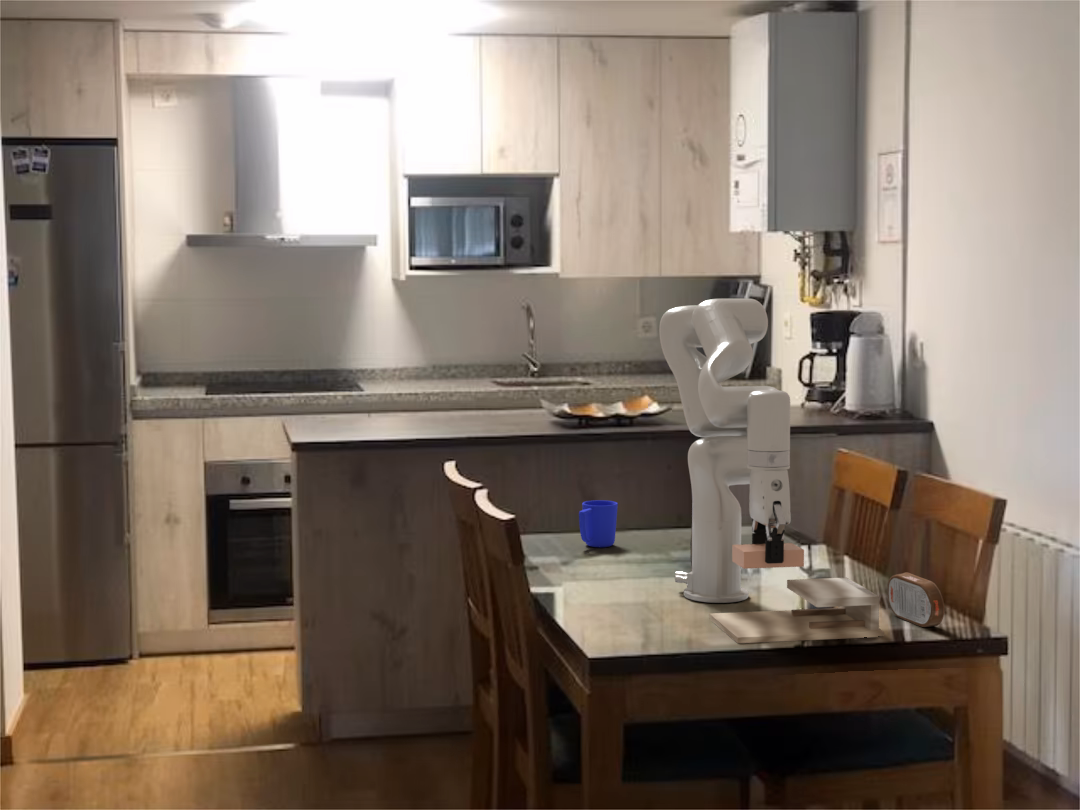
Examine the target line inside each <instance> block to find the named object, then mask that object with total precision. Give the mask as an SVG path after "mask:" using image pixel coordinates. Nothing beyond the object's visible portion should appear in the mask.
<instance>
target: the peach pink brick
mask: <svg viewBox="0 0 1080 810" xmlns="http://www.w3.org/2000/svg"><path fill="white" fill-rule="evenodd" d="M732 561H733V562H734V563H736V564H737V565H739V566H740V567H741V569H743V570H744V569H745V570H746V569H771V568H772V569H773V568H795V567H797V568H799V567H800V568H801V567H805V549H804V548H802V547H800V546H798V545H796V544H794V543H792V542H784V562H783V563H771V564H768V563H766V562H765V544H752V543H748V544H746V543H745V544H742V543H741V545H732Z"/></svg>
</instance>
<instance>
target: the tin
mask: <svg viewBox="0 0 1080 810" xmlns="http://www.w3.org/2000/svg"><path fill="white" fill-rule="evenodd" d="M941 592H942V591H941V590H940V589H939V587H938V586H937V584H936V583H935V582H933V581H931V580H928V579H926V578H923V577H920V576H918V575H915V574H913V573H910V572H903V573H898V574H893V575H892V576H891V577H890V578H889V579H888V581H887V601H888V602H887V603H888V605H889V606H888V607H889V608H890V610H891V611H892V613H893V614H894V615H895V616H896V617H897V618H899V619H901V620H904V621H907V622H908V623H911V624H913V625H916V626H919V627H922V628H930V627H937V626H939V625H940V624H941V623H942V622H943V619H944V616H945V602H944V598H943V595H942V593H941Z"/></svg>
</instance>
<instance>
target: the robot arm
mask: <svg viewBox="0 0 1080 810" xmlns="http://www.w3.org/2000/svg"><path fill="white" fill-rule="evenodd" d="M768 324H769V319H768V314H767V312H766V309H765V307H764V305H763V304H762V303H761V302H760V301H758V300H757V299H754V298H746V297H745V298H740V297H739V298H712V299H707V300H704V301H702V302H700V303H699V304H697V305H695V304H693V305H682V306H681V305H680V306H676V307H673V308H670V309H668V310H666V312H664V313H663V315H662V317H661V318H660V321H659V328H658V329H659V331H658V332H659V341H660V346H661V350H662V353H663V356H664V359H665V361H666V362H667V365H668V366H669V369H670V371H671V372H672V374H673V376H674V378H675V381H676V383H677V388H678V393H679V398H680V402H681V407H682V411H683V414H684V415H683V416H684V418H685V422H686V425H687V428H688V430H689V432H690V433H691V434H693V435H694V436H695V437H698V438H699V437H700V438H699V439H697V440H695V441H694V442H693V443H691V445H690V447H689V449H688V452H687V465H688V471H689V479H690V484H691V485H690V486H691V500H692V503H691V504H692V508H691V509H692V510H691V511H692V512H691V513H692V515H691V517H692V519H691V520H692V523H691V528H692V571H690V572H685V571H675V573H674V582H675V583H679V584H683V583H684V584H685V585H686V587H685V588H684V589H683V596H684V597H685V598H686V599H688V600H691V601H695V602H700V603H710V604H711V603H712V604H725V603H726V604H728V603H738V602H741V601H745V600H747V599H748V598H749V591H748V589H746V588H744V587H742V586H741V584H742V583H741V581H742V579H741V578H742V577H741V576H742V575H741V573H742V567H740V566H739V565H737V564H736V563H734V562H733V561H732V545H742V507H741V505H740V502H739V500H738V499H737V497H736V496H735V495H734V494H733V492H732V491H731V489H730V486H736V485H749V490H748V491H749V493H748V495H749V496H748V498H749V499H748V505H749V507H748V511H749V512H748V513H749V516H750V518H751V523H752V526H751V544H765V562H766V563H768V564H771V563H783V562H784V543H785V532H786V531H785V528H786V526H788V525H789V524H790V523H791V522H792V521H791V520H792V519H791V518H792V517H791V515H792V514H791V494H790V493H791V492H790V491H791V490H790V489H791V488H790V482H789V481H790V479H789V471H788V470H790V469H791V457H790V456H791V396H790V395H789V393H788V392H787V391H784V390H779V389H777V388H776V387H774V386H769V385H754V386H752V385H738V386H736V385H735V386H732V385H731V386H723V385H722V382H725V381H726V380H729V379H730V378H734V377H735V376H737V375H739V374H741V373H742V372H744V370H746V369H747V367H748V366H749V365H750V364H751V363H752V360H753V355H754V351H753V348H752V344H755V343H758V342H760V341H761V340H763V338H765V336H766V334H767V332H768V328H769V327H768V326H769V325H768ZM697 348H702V349H703V352H704V354H703V353H702V352H700V351H699V350H698V349H697Z"/></svg>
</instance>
